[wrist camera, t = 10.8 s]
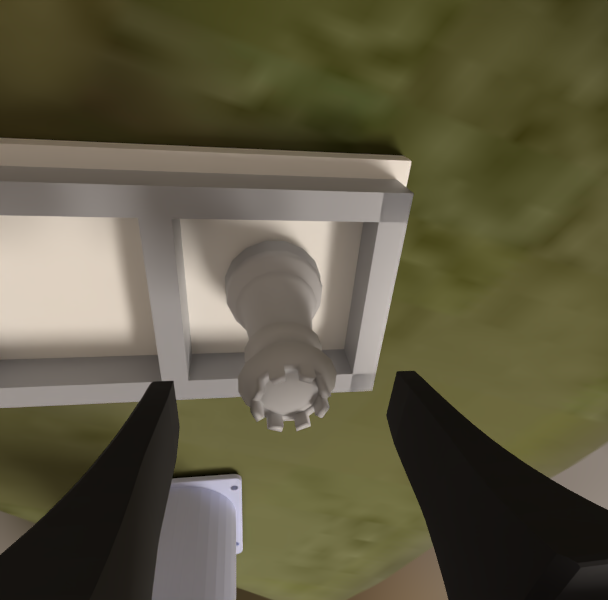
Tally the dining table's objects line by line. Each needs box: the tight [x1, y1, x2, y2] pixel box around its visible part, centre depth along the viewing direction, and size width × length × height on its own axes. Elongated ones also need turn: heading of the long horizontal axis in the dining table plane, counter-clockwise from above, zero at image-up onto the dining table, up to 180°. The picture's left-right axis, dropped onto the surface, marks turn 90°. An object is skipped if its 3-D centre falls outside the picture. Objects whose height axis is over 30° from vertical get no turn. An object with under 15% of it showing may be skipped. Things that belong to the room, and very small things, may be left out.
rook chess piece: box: [225, 241, 337, 432], centre depth 16 cm, size 4×4×8 cm
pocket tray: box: [0, 138, 414, 408], centre depth 18 cm, size 12×21×3 cm, turn 86°
